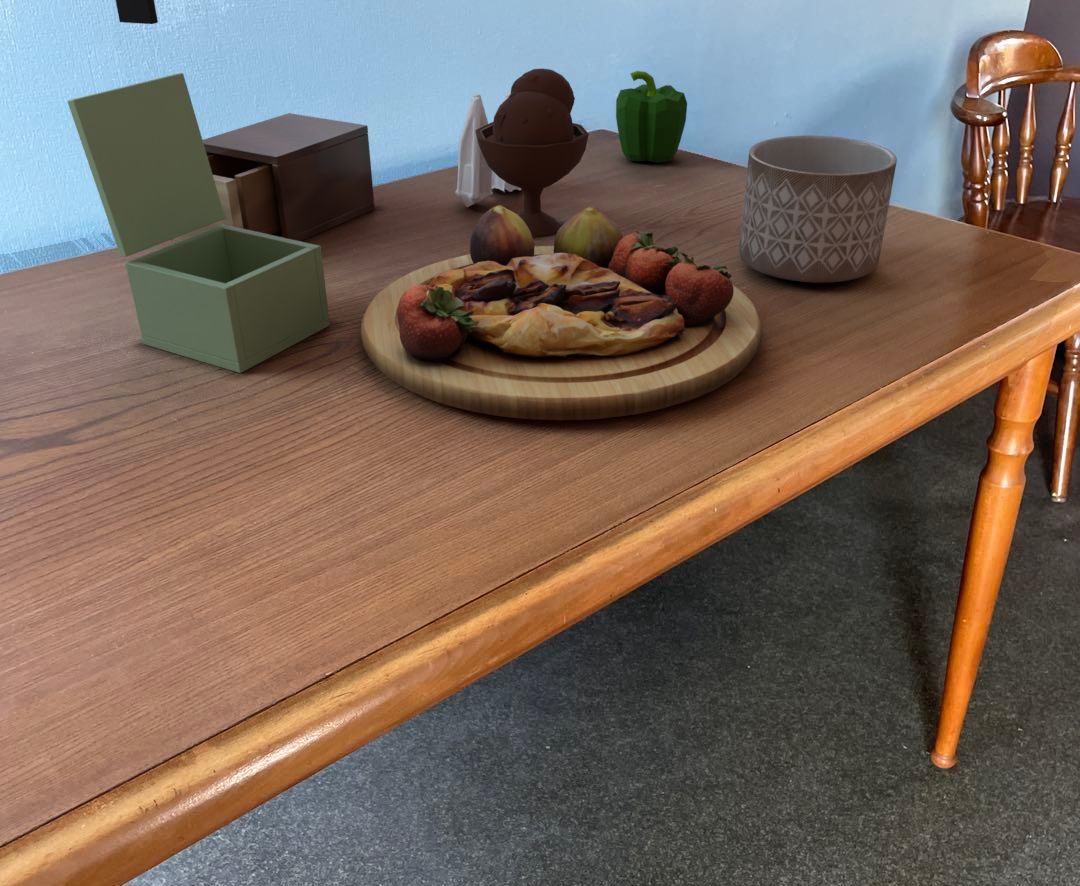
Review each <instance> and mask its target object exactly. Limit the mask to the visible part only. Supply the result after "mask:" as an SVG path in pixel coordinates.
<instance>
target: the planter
mask: <svg viewBox="0 0 1080 886" xmlns="http://www.w3.org/2000/svg"><path fill="white" fill-rule="evenodd" d="M747 159H748V161H747V168H746V169H747V170H746V178H745V188H744V189H745V190H744V198H743V206H742V207H743V208H742V218H741V227H740V238H739V246H738V247H739V248H738V255H739V258H740V259H741V261H742V262H743V263H744V264H745V265H746V266H748V267H749V268H751V269H753V270H754V271H757V272H759V273H762V274H764V275H767V276H771V277H773V278H778V279H783V280H788V281H792V282H793V281H794V282H802V283H815V284H816V283H817V284H818V283H819V284H820V283H821V284H822V283H823V284H824V283H840V282H847V281H851V280H853V281H854V280H857V279H859V278H863V277H865V276H867V275H870V274H871V273H873V272H874V271H875V269H876V268H877V267H878V265H879V263H880V258H881V257H880V256H881V251H882V246H883V241H884V235H885V231H886V230H885V229H886V224H887V218H888V213H889V207H890V203H891V202H890V201H891V195H892V190H893V185H894V178H895V173H896V167H897V162H898V157H897V156H896V154H895V153H894V152H892V151H891V150H890V149H888V148H886V147H883V146H881V145H878V144H875V143H873V142H869V141H866V140H865V141H864V140H861V139H854V138H848V137H840V136H831V135H830V136H829V135H788V136H787V135H786V136H779V137H774V138H769V139H765V140H764V139H763V140H762V141H759V142H757V143H755V144H753V145H752V146H751V147H750V148H749V150H748V158H747Z"/></svg>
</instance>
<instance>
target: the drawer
mask: <svg viewBox="0 0 1080 886" xmlns="http://www.w3.org/2000/svg"><path fill="white" fill-rule="evenodd" d="M207 157H208V161H209V164H210V167H211V171H212V174H213V178H214V181H215V185H216V188H217V192H218V195H219V198H220V202H221V205H222V209H223V212H224V216H225V219H223V220H220V221H218V222H215V223H213V224H210V225H207V226H205V227H202V228H200V229H197V230H194V231H192V232H189V233H187V234H184V235H181V236H179V237H176V238H174V239H171V240H170V241H176V242H180V241H182V240H185V239H187V238H190V237H192V236H195V235H197V234H200V233H203V232H205V231H208V230H210V229H213V228H215V227H218V226H220V225H223V224H224V225H229V226H233V227H238V228H242V229H247V230H251V231H256V232H260V233H265V234H269V235H271V234H274V233H276V232H279V231H281V224H280V217H279V210H278V203H277V196H276V189H275V182H274V174H273V167H272V165H273V164H268V163H263V162H258V161H252V160H247V159H242V158H236V157H231V156H226V155H220V154H215V153H213V154H210V155H207Z"/></svg>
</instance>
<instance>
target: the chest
mask: <svg viewBox="0 0 1080 886" xmlns="http://www.w3.org/2000/svg"><path fill="white" fill-rule="evenodd" d="M124 264H125V268H126V272H127V277H128V281H129V286H130V290H131V295H132V299H133V303H134V308H135V313H136V317H137V321H138V322H137V323H138V325H139V330H140V334H141V339H142V344H143V345H145V346H149V347H152V348H155V349H159V350H162V351H165V352H168V353H172V354H175V355H179V356H182V357H185V358H188V359H192V360H195V361H199V362H202V363H206V364H208V365H212V366H215V367H219V368H222V369H224V370H225V369H226V370H229V371H233V372H236V373H238V374H241V373H243V372H245V371H247V370H249V369H251V368H253V367H255V366H256V365H259V364H260V363H263V362H264V361H266V360H268V359H270V358H271V357H274V356H275V355H277V354H279V353H281V352H283V351H285V350H287V349H289V348H290V347H292V346H294V345H296V344H298V343H299V342H302V341H304V340H306V339H308V338H309V337H311V336H313V335H314V334H317V333H318V332H320V331H322V330H324V329H326V328H328V327H329V326H331V322H330V321H331V320H330V311H329V305H328V297H327V287H326V279H325V272H324V271H325V270H324V264H323V254H322V247H321V245H318V244H313V243H310V242H304V241H296V240H292V239H287V238H283V237H278V236H274V235H269V234H265V233H260V232H256V231H251V230H247V229H242V228H238V227H233V226H229V225H224V224H223V225H220V226H218V227H215V228H213V229H210V230H208V231H205V232H203V233H200V234H197V235H195V236H192V237H190V238H187V239H185V240H182V241H176V242H175V243H172V244H168V245H167V246H164V247H162V248H159V249H157V250H154V251H152V252H149V253H147V254H144V255H141V256H138V257H136V258H134V259H131V260H129V261H127V262H125V263H124Z"/></svg>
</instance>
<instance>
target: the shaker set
mask: <svg viewBox="0 0 1080 886" xmlns="http://www.w3.org/2000/svg"><path fill="white" fill-rule="evenodd" d="M510 94H511V93H510ZM510 94H506V95H505V96H504V98H503V101H502V103H503V102H504V101H505V100H506V99H507V98H508V97H509V95H510ZM486 113H487V112H486V110H485V107H484V104H483V99H482V96H481V94H477V93H476V94H474V95H473V96H472V98H471V100H470V103H469V106H468V109H467V113H466V115H465V118H464V122H463V125H462V128H461V131H460V134H459V137H458V138H459V139H458V158H457V160H458V161H457V181H456V190H454V193H455V195H456V197H457V198H458V199H459V201H461V203H462V204H463V205H464V206H465V207H466V208H469V207H471V206H473V205H474V204H476V203H478V202H480V201H482V200H484V199H486V198H488V197H490V196H492V195H493V194H494V192H493V190H494V189H496V190H497V189H498V190H500V191H502V193H506V191H507V192H509V193H510V192H513V191H515V190H517V191H522V190H521V188H519V187H516V186H513V185H510V184H508V183H507V182H505V181H504V180H502V179H501V178H499V177H498V176H497V175H496V174H495V173H494V172H493V171H492V170H491V169H490V168H489V167H488V165H487V163H486V160H485V158H484V156H483V154H482V152H481V150H480V148H479V145H478V141H477V136H476V131H475V130H477V129H479V128H481V127H483V126H485V125H487V124H489V120H488V116H487V114H486ZM505 190H506V191H505Z"/></svg>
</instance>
